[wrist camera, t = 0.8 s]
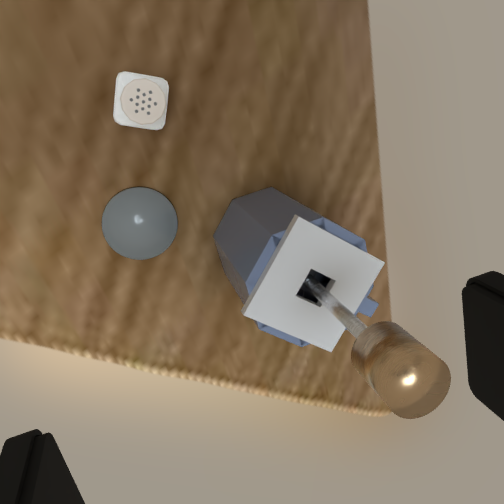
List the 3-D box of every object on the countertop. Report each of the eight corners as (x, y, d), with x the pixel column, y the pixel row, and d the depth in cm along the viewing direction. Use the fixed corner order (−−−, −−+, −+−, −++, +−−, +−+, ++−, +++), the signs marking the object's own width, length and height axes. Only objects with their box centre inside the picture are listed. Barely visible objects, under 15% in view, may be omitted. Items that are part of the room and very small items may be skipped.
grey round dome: (122, 173, 45) (122, 174, 44) (189, 206, 47) (190, 208, 47) (89, 239, 46) (89, 241, 45) (156, 268, 48) (157, 270, 48)
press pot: (246, 173, 48) (295, 201, 34) (346, 228, 52) (423, 271, 39) (199, 261, 49) (229, 320, 36) (300, 306, 54) (359, 374, 41)
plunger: (285, 217, 39) (405, 303, 23) (352, 252, 41) (503, 352, 25) (243, 292, 40) (330, 425, 24) (311, 322, 42) (431, 460, 26)
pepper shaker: (163, 81, 43) (174, 77, 34) (158, 127, 44) (168, 134, 35) (117, 73, 42) (116, 66, 33) (113, 120, 43) (111, 126, 34)
